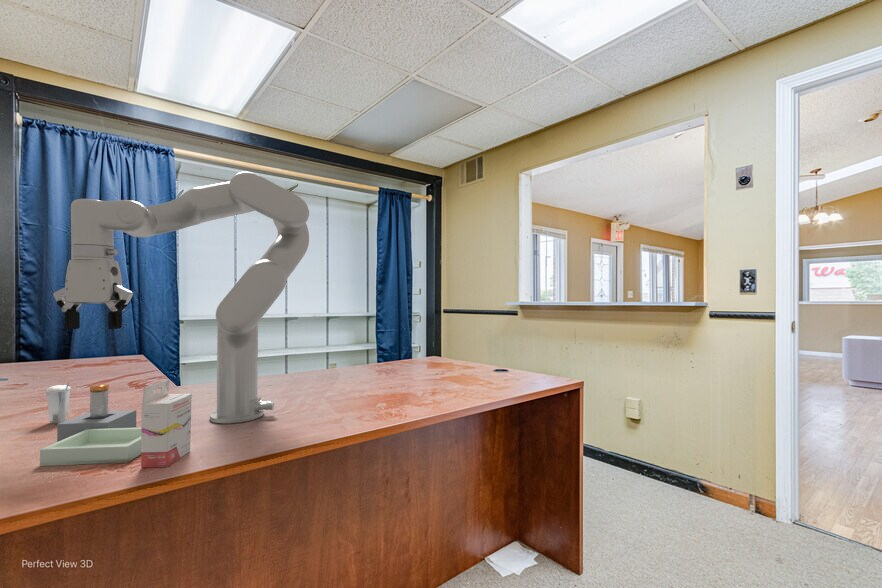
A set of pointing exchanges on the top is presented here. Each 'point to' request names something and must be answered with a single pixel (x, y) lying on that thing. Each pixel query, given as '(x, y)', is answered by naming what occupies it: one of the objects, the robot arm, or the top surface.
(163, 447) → the ink cartridge box
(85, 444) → the tray
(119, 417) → the socket block
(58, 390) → the milkshake
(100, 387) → the pin
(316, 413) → the top surface
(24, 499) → the top surface
